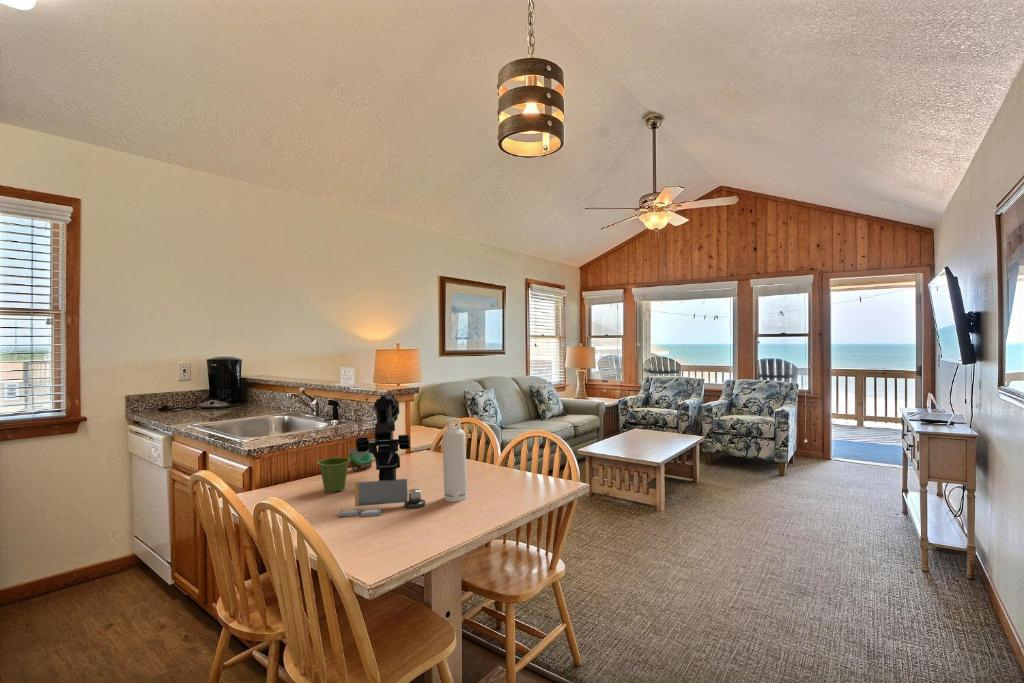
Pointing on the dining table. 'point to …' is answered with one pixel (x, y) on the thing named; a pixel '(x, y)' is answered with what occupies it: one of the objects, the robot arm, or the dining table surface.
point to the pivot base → (414, 504)
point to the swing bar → (384, 492)
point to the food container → (360, 460)
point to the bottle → (454, 462)
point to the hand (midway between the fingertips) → (382, 463)
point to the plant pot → (334, 473)
